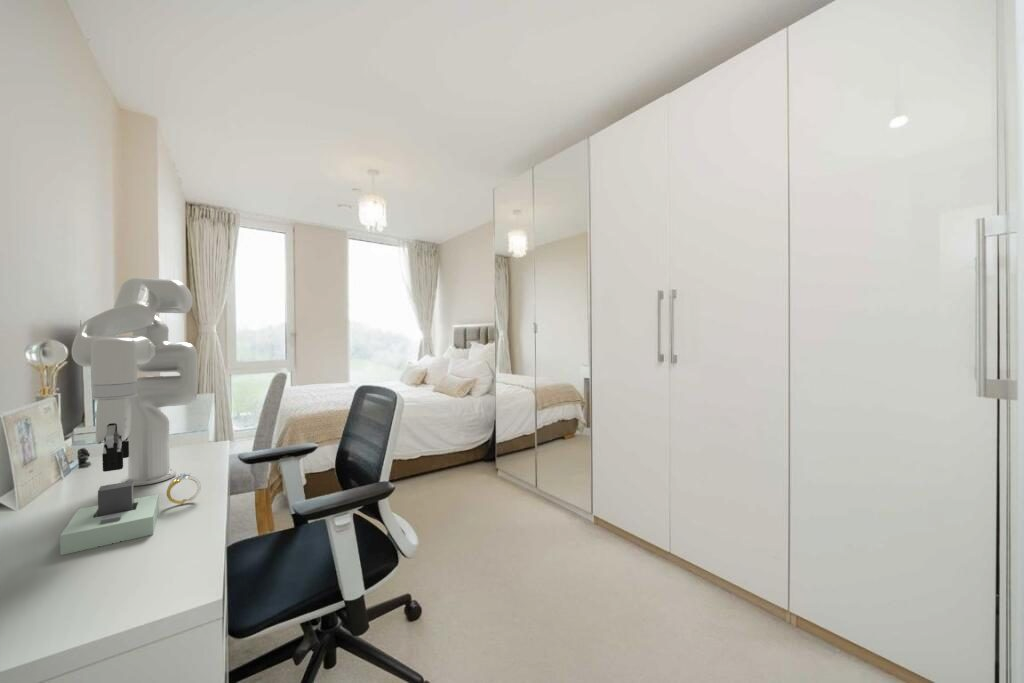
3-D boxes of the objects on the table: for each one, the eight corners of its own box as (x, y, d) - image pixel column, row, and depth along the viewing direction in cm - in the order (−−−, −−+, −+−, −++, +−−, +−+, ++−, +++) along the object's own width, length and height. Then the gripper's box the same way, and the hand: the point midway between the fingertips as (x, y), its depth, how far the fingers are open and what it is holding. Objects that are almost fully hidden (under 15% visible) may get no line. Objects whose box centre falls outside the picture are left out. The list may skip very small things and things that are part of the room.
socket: (79, 525, 94) (78, 505, 94) (158, 509, 103) (158, 491, 102) (60, 555, 81) (60, 531, 81) (153, 534, 90) (152, 512, 90)
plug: (101, 524, 93) (100, 486, 93) (133, 518, 97) (133, 480, 97) (98, 531, 90) (97, 491, 90) (132, 524, 94) (131, 485, 94)
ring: (166, 509, 103) (165, 477, 103) (167, 504, 106) (167, 474, 106) (200, 502, 107) (200, 472, 107) (201, 498, 110) (201, 469, 110)
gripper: (99, 387, 98) (100, 457, 98) (83, 398, 84) (85, 479, 85) (141, 384, 102) (142, 451, 103) (132, 394, 89) (133, 471, 89)
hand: (116, 463), depth 94 cm, fingers open, 9 cm apart
